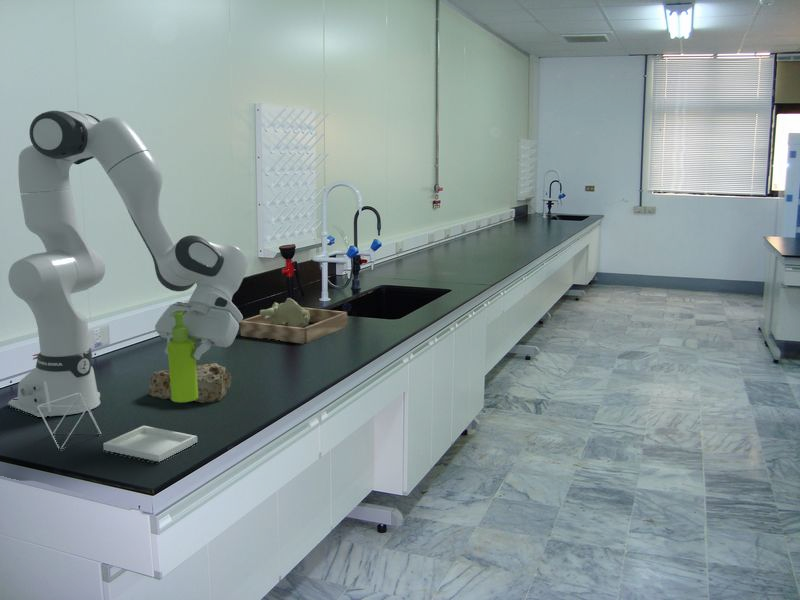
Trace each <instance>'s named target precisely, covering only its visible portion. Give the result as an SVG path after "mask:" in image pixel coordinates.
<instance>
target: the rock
mask: <svg viewBox="0 0 800 600" xmlns="http://www.w3.org/2000/svg"><path fill="white" fill-rule="evenodd" d="M196 371H197V385H198V398H197V399H196V400H193V401H195V402H197V403H198V402H199V403H201V404H205V403H216V402H219V401H221V400H222V399H223V398H224V396H226V394H227V392H228V391H227V390H228V389H229V388H230V387H231V384H232V381H233V376H232V375H231V373H230V372H228V370H227V368H226V367H225V366H222V365H219V364H218V363H217V362H212V363H210V364H208V363H202V364H201V365H198V364H196ZM149 380H150V381H149V384H148V390H147V391H148V394H149V396H151V397H152V398H161V399H162V400H165V399H166V400H167V399H169V400H172V397H171V384H170V372H169V369H165V370H160V371H156V370H153V372H152V374H151V377H150V379H149Z"/></svg>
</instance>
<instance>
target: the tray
mask: <svg viewBox="0 0 800 600" xmlns="http://www.w3.org/2000/svg"><path fill="white" fill-rule="evenodd" d="M197 442H198V436H197V435H192V434H188V433H184V432H178V431H175V430H167V429H165V428H164V429H163V428H159V427H158V428H157V427H153V426H148V425H141V426H140V427H137V428H135V429H133V430H131V431H128V432H126V433H123V434H121V435H119V436H117V437H115V438H112V439H110V440H108V441H105V442H103V451H104V450H106V451H111V452H116V453H120V454H125V455H130V456H135V457H140V458H144V459H149V460H153V461H158V462H160V461H162V460H164V459H166V458H168V457H170V456H172V455H174V454H176V453H178V452H180V451H182V450H184V449H186V448H188V447H190V446H192V445H193V444H195V443H197ZM192 447H193V446H192Z"/></svg>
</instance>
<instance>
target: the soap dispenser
mask: <svg viewBox="0 0 800 600" xmlns="http://www.w3.org/2000/svg"><path fill="white" fill-rule="evenodd" d="M185 313H187V311H176V312H175V313H174V314H173V317H175V323H176V326H174V327H173V328H172V335H173V341H171V342H169V343H168V344H166V347H167V346H168V355H167V357H168V370H169V372H170V384H171V397H172V399H171V401H172V402H175V403H188V402H193V401H194V400H196V399H197V398H198V385H197V371H196V366H197V360H195V359H193V358H192V357H191V356H190V355H191V353H192V351H193V349H195V350H196V347H195V345H196V344H195V342H194V341H193V340H189V339H188V327H187V326H185V325H183V315H184V314H185Z"/></svg>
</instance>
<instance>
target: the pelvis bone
mask: <svg viewBox="0 0 800 600" xmlns="http://www.w3.org/2000/svg"><path fill="white" fill-rule="evenodd" d="M304 308H305V307H304ZM304 308H302V306H301V305H299V304H298V302H297V301H295V300H294V299H292V298H291V297H287V298H286V300H285V301H284V302H281V303H278V302H276V301H275V302H274V303H273V304H272V306H271V307H269V308H267V309H260V310H259V315H263V316H266V317H265V318H264V319H265V320H266V321H267V322H271V323H272V324H273V325H282V326H285V325H287V326H290V327H299V328H305V326H307V325H308V326H309V322H308V321H309V319H310V315H309V310H305V309H304Z"/></svg>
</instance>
